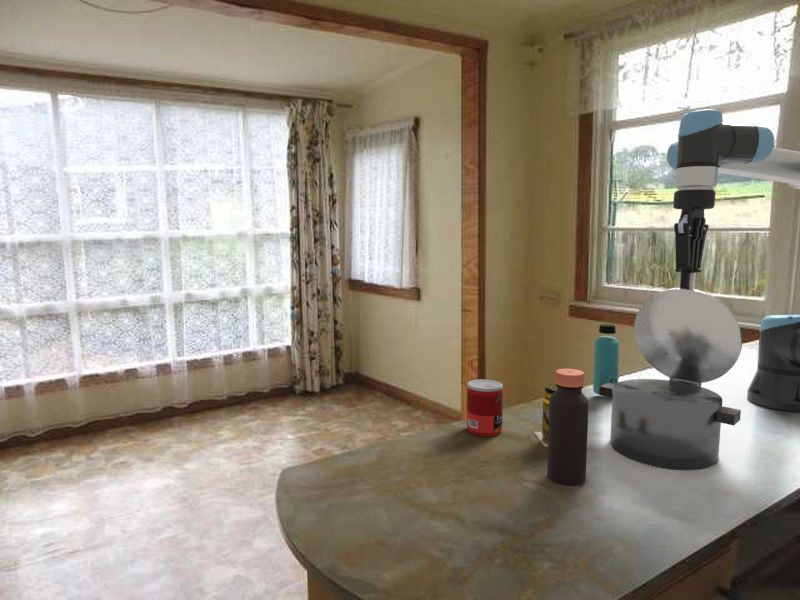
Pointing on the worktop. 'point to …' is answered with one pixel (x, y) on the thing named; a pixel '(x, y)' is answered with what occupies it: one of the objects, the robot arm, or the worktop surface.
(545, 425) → the condiment
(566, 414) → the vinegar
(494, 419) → the canned food
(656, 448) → the pot
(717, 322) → the lid
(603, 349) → the beverage bottle
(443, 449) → the worktop surface
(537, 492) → the worktop surface
